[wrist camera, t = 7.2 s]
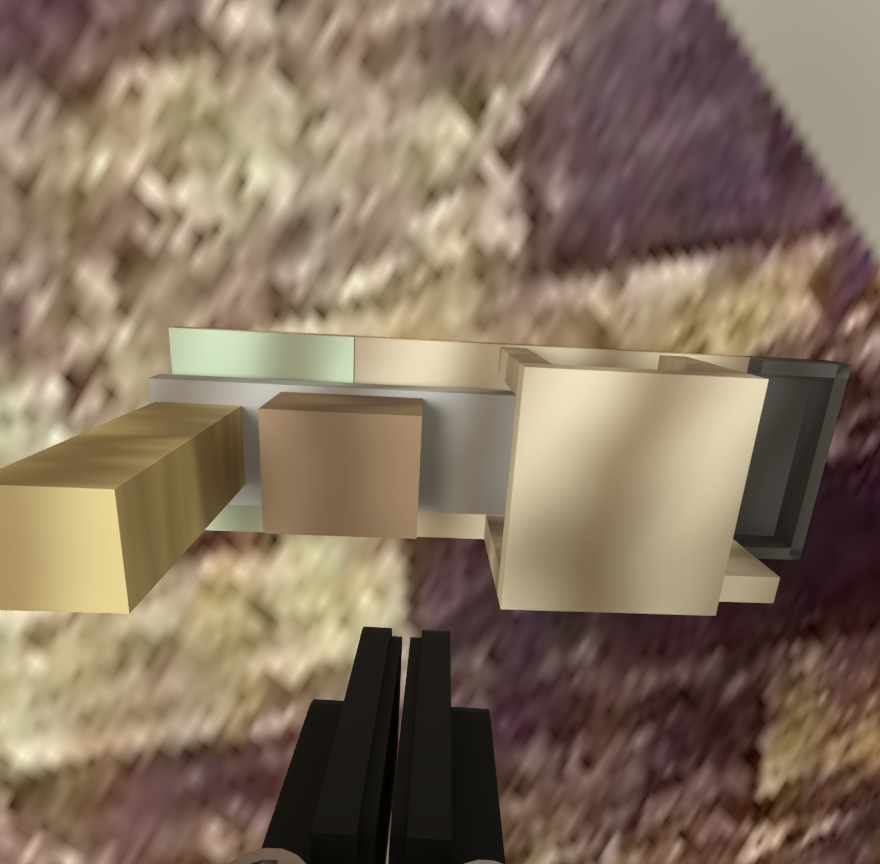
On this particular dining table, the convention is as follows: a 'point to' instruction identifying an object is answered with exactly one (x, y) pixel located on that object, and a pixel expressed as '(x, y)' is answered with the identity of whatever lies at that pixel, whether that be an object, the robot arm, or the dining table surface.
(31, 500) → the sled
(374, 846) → the robot arm
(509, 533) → the tunnel
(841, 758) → the dining table surface
